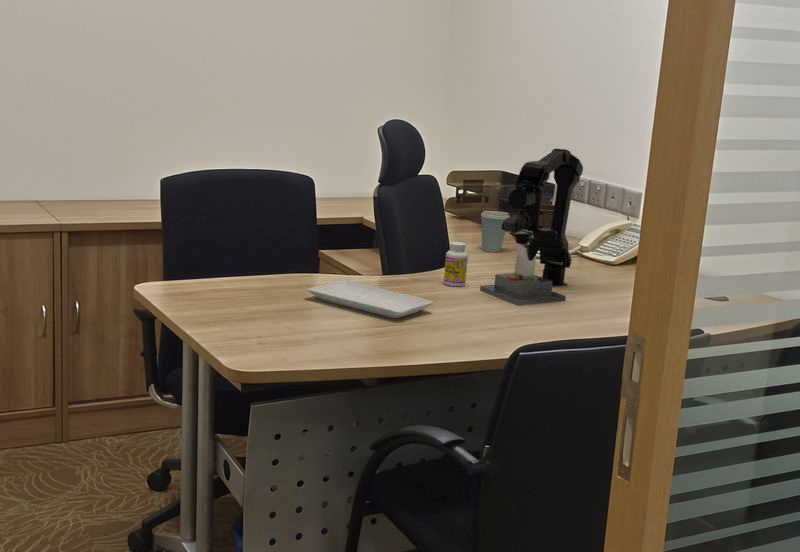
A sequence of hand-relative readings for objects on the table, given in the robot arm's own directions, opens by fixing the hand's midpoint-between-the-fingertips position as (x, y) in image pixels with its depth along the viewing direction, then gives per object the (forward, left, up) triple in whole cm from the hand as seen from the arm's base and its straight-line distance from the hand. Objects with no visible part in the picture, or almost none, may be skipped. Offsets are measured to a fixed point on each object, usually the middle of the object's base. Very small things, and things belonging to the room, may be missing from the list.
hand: (526, 258), depth 274 cm
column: (0, 0, -6) cm, 6 cm away
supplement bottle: (+12, -18, -11) cm, 24 cm away
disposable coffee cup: (-36, -61, -11) cm, 72 cm away
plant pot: (-61, -61, -11) cm, 87 cm away
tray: (+51, -3, -12) cm, 53 cm away
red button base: (0, 0, -11) cm, 11 cm away
